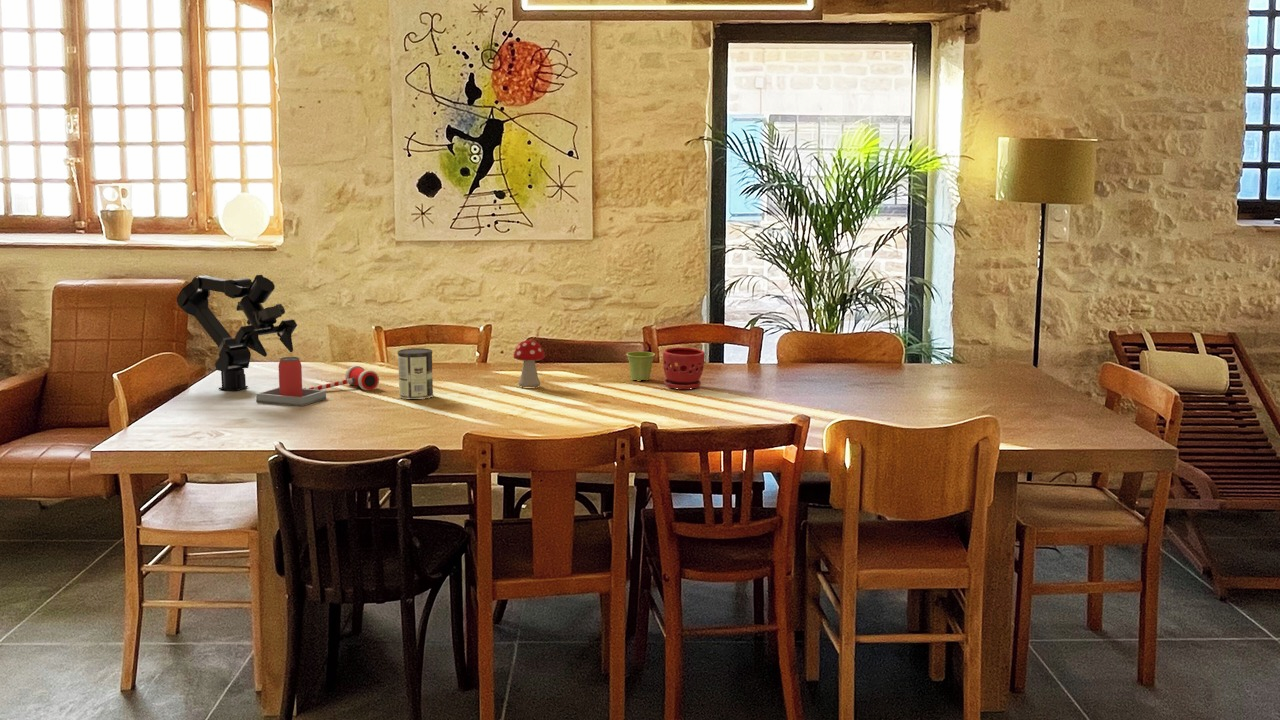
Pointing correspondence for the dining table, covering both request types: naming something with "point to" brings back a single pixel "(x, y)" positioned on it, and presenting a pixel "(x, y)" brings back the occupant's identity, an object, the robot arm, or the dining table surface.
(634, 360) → the plant pot
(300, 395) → the beer can
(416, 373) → the coffee can
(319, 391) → the tray
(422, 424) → the dining table surface
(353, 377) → the toy hammer
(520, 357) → the decorative mushroom
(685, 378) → the plant pot
